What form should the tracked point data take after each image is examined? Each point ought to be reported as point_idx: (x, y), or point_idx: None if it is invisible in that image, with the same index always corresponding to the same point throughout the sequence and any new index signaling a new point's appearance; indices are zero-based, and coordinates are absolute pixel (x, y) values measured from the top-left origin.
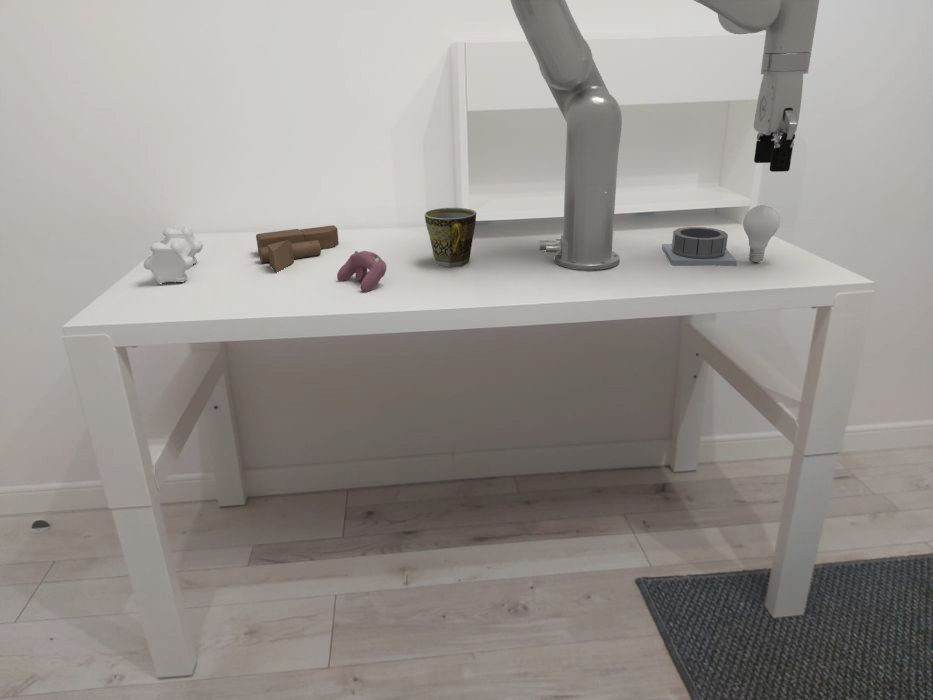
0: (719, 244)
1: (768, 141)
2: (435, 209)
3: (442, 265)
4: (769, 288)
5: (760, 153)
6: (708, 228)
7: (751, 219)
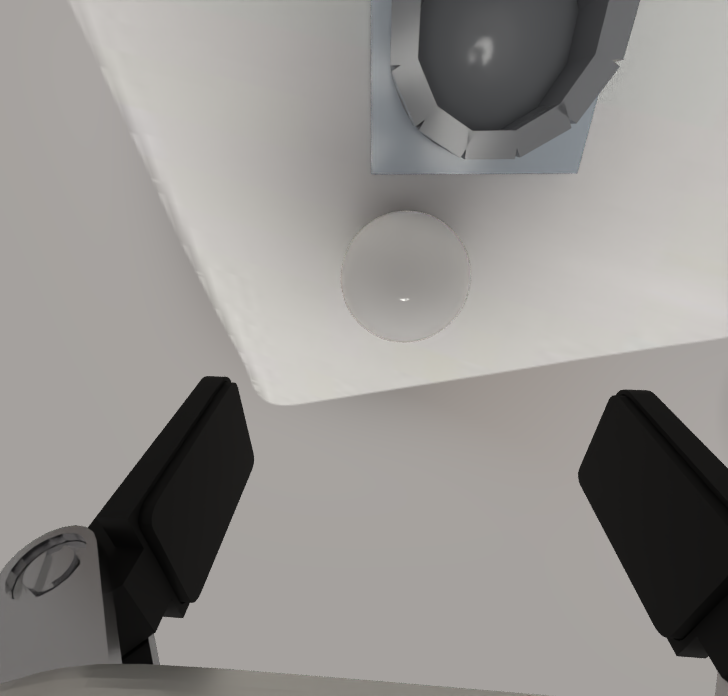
0: (407, 110)
1: (695, 614)
2: None
3: None
4: (179, 210)
5: (642, 465)
6: (586, 93)
7: (366, 234)
